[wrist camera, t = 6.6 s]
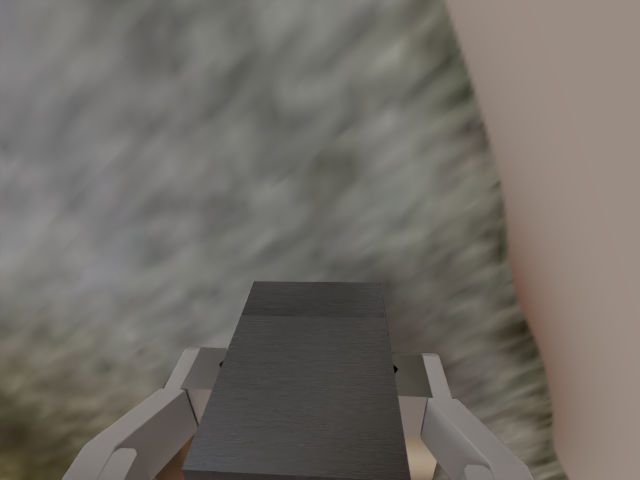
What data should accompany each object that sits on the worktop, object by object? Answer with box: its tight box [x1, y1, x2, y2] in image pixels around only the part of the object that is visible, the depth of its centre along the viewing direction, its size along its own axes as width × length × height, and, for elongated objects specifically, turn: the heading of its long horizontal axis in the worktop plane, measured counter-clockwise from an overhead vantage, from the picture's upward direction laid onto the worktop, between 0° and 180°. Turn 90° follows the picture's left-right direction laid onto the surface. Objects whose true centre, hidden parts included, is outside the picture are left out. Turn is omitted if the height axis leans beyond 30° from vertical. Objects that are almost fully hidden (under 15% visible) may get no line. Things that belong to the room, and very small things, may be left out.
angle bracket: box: [181, 281, 411, 480], centre depth 13 cm, size 9×5×7 cm, turn 2°
